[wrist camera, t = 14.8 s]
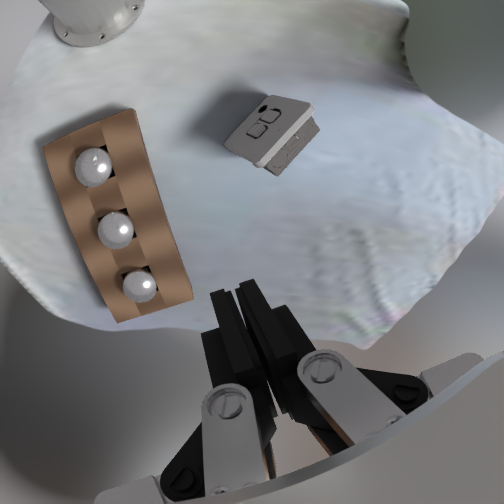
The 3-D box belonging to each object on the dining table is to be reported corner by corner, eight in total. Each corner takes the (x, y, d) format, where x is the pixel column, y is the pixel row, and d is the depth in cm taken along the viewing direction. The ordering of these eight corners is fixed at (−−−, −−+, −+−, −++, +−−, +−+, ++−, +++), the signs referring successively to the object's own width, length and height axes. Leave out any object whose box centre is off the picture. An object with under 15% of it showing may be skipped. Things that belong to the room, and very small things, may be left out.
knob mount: (52, 145, 29) (42, 147, 26) (135, 110, 31) (131, 108, 28) (119, 309, 41) (117, 323, 38) (191, 286, 43) (194, 299, 39)
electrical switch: (268, 94, 34) (303, 91, 27) (293, 120, 37) (331, 125, 29) (221, 144, 36) (243, 154, 28) (248, 168, 38) (277, 185, 31)
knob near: (81, 153, 30) (70, 157, 26) (112, 140, 31) (104, 142, 27) (91, 185, 32) (81, 192, 28) (121, 173, 33) (115, 179, 29)
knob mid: (100, 210, 34) (92, 220, 30) (130, 199, 35) (125, 208, 31) (112, 240, 36) (106, 253, 32) (141, 229, 37) (138, 242, 33)
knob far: (121, 263, 38) (117, 278, 34) (150, 253, 38) (148, 268, 34) (133, 289, 40) (131, 306, 36) (161, 280, 40) (161, 297, 36)
